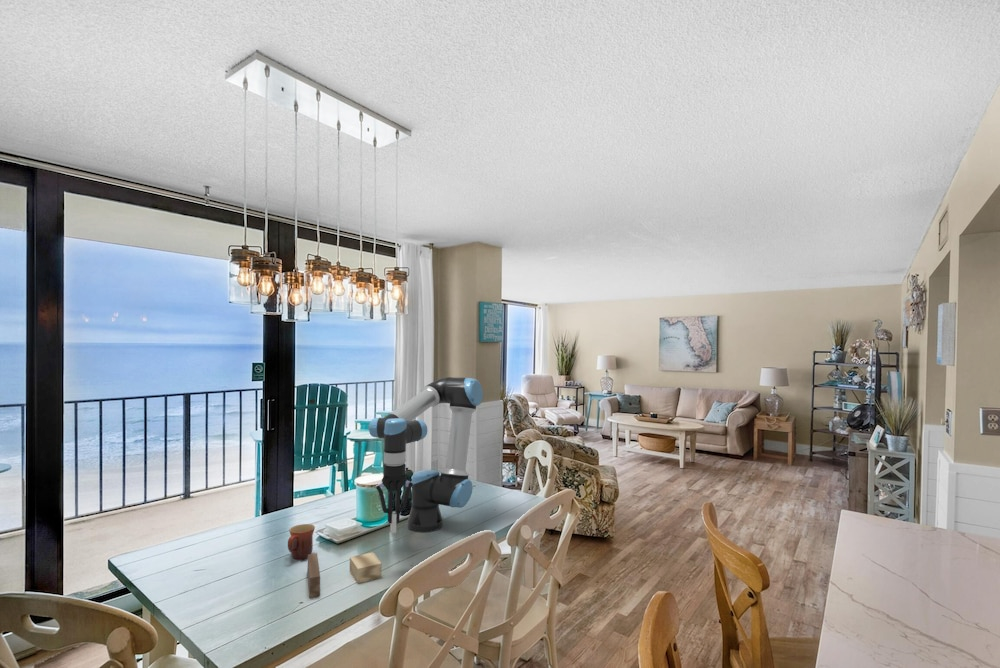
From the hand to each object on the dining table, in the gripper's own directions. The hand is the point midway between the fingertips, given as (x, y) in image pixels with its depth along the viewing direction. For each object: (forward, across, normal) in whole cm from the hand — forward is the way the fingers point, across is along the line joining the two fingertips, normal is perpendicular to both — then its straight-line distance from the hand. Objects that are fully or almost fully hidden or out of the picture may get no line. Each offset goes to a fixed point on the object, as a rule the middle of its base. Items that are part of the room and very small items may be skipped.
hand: (393, 531), depth 167 cm
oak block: (+13, +9, 0) cm, 16 cm away
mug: (+13, +30, -22) cm, 39 cm away
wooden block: (+13, +26, 0) cm, 29 cm away
